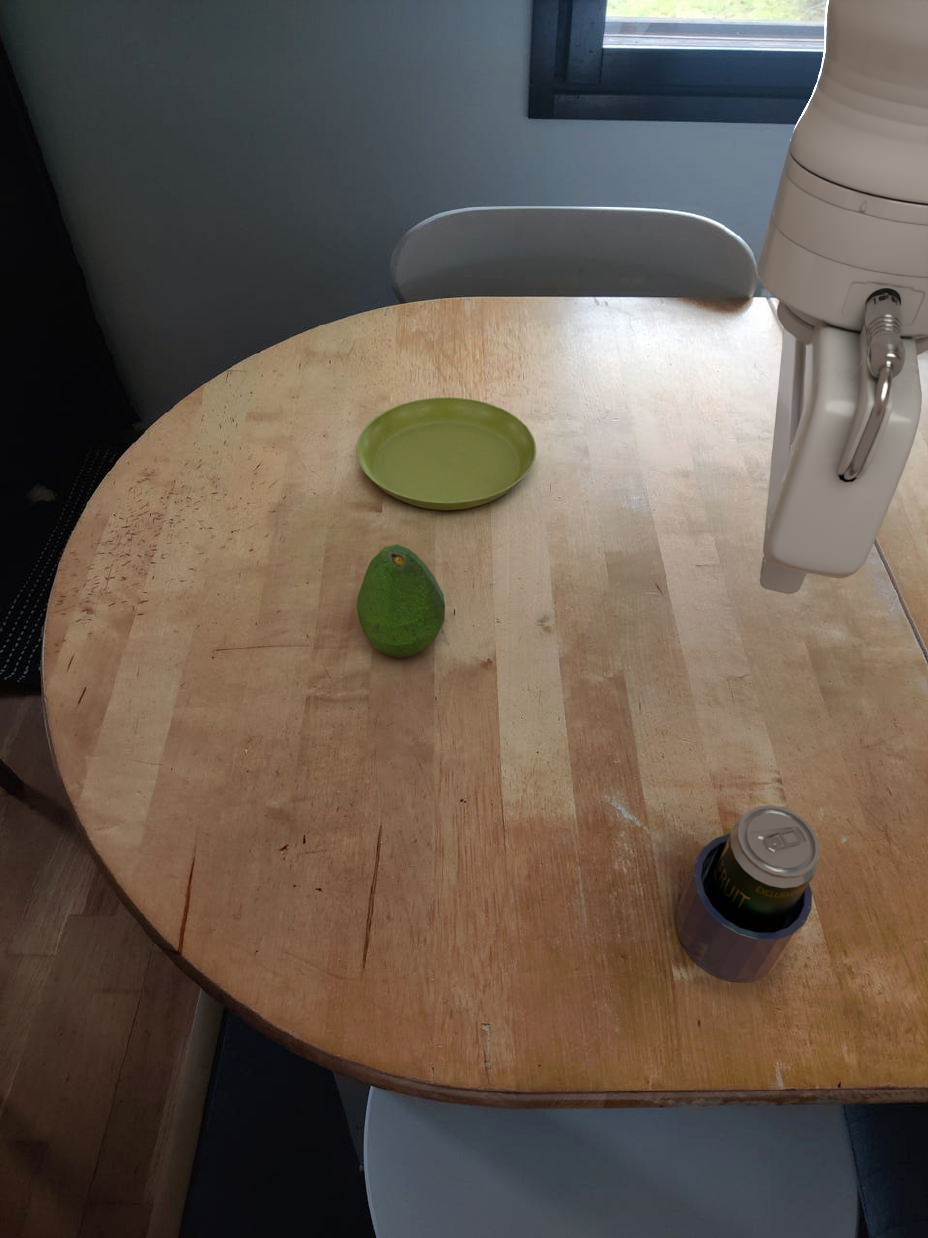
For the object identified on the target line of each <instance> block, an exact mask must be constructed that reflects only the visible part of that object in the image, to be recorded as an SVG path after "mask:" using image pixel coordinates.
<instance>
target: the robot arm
mask: <svg viewBox="0 0 928 1238" xmlns="http://www.w3.org/2000/svg"><path fill="white" fill-rule="evenodd" d="M822 56H823V57H822V61H821V67H820V71H819V74H818V78H817V82H816V84H815V86H814V89H813V92H812V95H811V97H810V99H809V101H808V103H807V104H806V106H805V108H804V110H803V112H802V113H801V116H800V117H799V119H798V121H797V123H796V124H795V127H794V129H793V132H792V134H791V137H790V140H789V144H788V148H787V151H786V155H785V160H784V163H783V167H782V170H781V175H780V178H779V181H778V185H777V189H776V193H775V197H774V201H773V205H772V208H771V212H770V215H769V219H768V223H767V226H766V230H765V235H764V239H763V242H762V245H761V249H760V253H759V257H758V259H757V265H756V267H757V268H756V272H757V275H758V279H759V281H760V282H761V284H762V286H763V287H764V288H765V289H766V291H768V293H769V294H770V295H771V296H772V297H774V298H775V299H777V300H778V304H777V308H776V316H777V320H778V321H779V322H780V324H781V325H782V339H781V353H780V354H781V355H780V366H779V374H778V375H779V376H778V385H777V386H778V387H777V397H776V407H775V417H774V418H775V419H774V429H773V439H772V449H771V458H770V459H771V460H770V471H769V481H768V492H767V501H766V502H767V503H766V514H765V525H764V533H763V534H764V535H763V544H762V555H763V557H762V559H761V566H760V574H759V575H760V576H759V583H760V586H761V587H762V588H763V589H765V590H768V591H772V592H778V593H782V594H787V595H792V594H795V593H798V591H799V590H801V587H802V585H803V583H804V581H805V578H806V576H807V574H810V575H814V576H815V575H816V576H821V577H827V578H832V579H847V578H849V577H851V576H853V575H854V574H856V573H857V572H859V570H860V569H861V568H862V567H863V566H864V565H865V563H866V561H867V560H868V557H869V555H870V553H871V551H872V548H873V546H874V544H875V541H876V539H877V536H878V534H879V532H880V529H881V527H882V525H883V522H884V520H885V518H886V516H887V512H888V510H889V508H890V505H891V502H892V500H893V498H894V496H895V494H896V490H897V488H898V485H899V483H900V480H901V478H902V476H903V474H904V471H905V468H906V465H907V462H908V460H909V457H910V453H911V451H912V448H913V446H914V442H915V438H916V435H917V431H918V428H919V424H920V418H921V414H922V403H923V393H922V384H921V375H920V369H919V360H918V356H920V355H921V354H923V353H925V352H927V351H928V0H827V2H826V7H825V21H824V47H823V55H822Z"/></svg>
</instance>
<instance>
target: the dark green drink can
mask: <svg viewBox="0 0 928 1238" xmlns="http://www.w3.org/2000/svg"><path fill="white" fill-rule="evenodd" d="M730 833H731V834H730ZM730 833H729V834H730V836H729V838H728V841H727V843H726V845H725V848H724V850H723V852H722V854H721V857H720V859H719V861H718V864H717V866H716V868H715V870H714V873H713V875H712V877H711V880H710V882H709V884H708V886H707V889H706V891H705V894H706V895H707V897H708V899H709V901H710V903H711V904H712V906H713V907H714V908H715V909H716V910H717V911H718V912H719V913H720V914H721V915H722V916H723V917H724V918H725V919H726V920H728V921H730V922H731V923H733V924H735V925H736V926H738V927H740V928H743V929H746V930H750V931H753V932H757V933H767V932H776V931H779V930H781V928H782V926H783V925H784V923H785V921H786V920H787V918H788V917H789V915H790V913H791V912H792V910H793V908H794V907H795V905H796V904H797V902H798V900H799V899H800V897H801V895H802V894H803V892H804V891H805V889H806V887H807V886H808V884H810V882H811V881H812V880H813V878H814V876H815V874H816V873H817V869H818V866H819V863H820V861H819V857H820V853H821V851H820V850H821V849H820V841H819V839H818V837H817V834H816V832H815V830H814V828H813V827H812V826H811V825H810V824H809V823H808V821H807V820H806V819H805V818H803V817H802V816H801V815H799V814H798V813H796V812H795V811H792V810H791V809H788V808H787V807H783V806H779V805H778V806H777V805H773V804H772V805H771V804H768V805H759V806H756V807H754V808H752V809H748V811H747V812H746V813H745V814H744V815H742V816H741V817H740V818H739V819H738V820H737V821H736V822H735V823H734V825H733V827H732V830H731V832H730Z"/></svg>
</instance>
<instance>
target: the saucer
mask: <svg viewBox="0 0 928 1238" xmlns="http://www.w3.org/2000/svg"><path fill="white" fill-rule="evenodd" d="M355 452H356V458H357V459H356V460H357V461H358V465H359V466H360V468H361V470H362V471H363V472H364V473H365V475H366V477H368V478H369V479H370V481H371V482H372V483H373V484H375V485H376V486H377V487H378V488H379V489H380V490H382V491H384V492H385V493H387V494H388V495H389V496H391V497H393V498H395V499H397V500H399V501H401V502H403V503H407V504H409V505H412V506H415V507H419V508H423V509H428V510H429V509H430V510H436V511H437V510H438V511H456V510H458V511H459V510H464V509H465V510H466V509H470V508H476V507H478V506H482V505H485V504H487V503H491V502H492V501H495V500H496V499H499V498H500V497H502V496H504V495H505V494H507V493H509V492H510V491H511V490H512V489H514V488H515V487H517V486H518V484H519V483H520V482H521V481H522V480H523V479H524V478H525V477H526V476H527V475H528V473H530V471H531V469H532V467H533V466H534V463H535V460H536V458H537V445H536V441H535V437H534V435H533V434H532V432H531V430H530V428H529V427H528V426H527V425H526V424H525V423H524V422H523V421H522V420H521V419H519V418H518V417H517V416H516V415H514V414H513V413H511V412H510V411H508V410H506V409H504V408H501V407H499V406H496V405H494V404H490V403H488V402H484V401H482V400H481V401H480V400H476V399H471V398H464V397H450V396H449V397H447V396H446V397H443V396H442V397H441V396H440V397H430V398H421V399H416V400H412V401H407V402H404V403H401V404H398V405H396V406H393V407H391V408H389V409H387V410H385V411H383V412H381V413H380V414H379V415H377V416H376V417H374V418H373V419H371V421H370V422H369V423H367V424H366V425H365V427H364V428H363V429H362V431H361V432H360V434H359V435H358V439H357V442H356V447H355Z"/></svg>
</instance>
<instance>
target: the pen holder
mask: <svg viewBox="0 0 928 1238" xmlns="http://www.w3.org/2000/svg"><path fill="white" fill-rule="evenodd" d="M730 834H731V832H730V833H728V834H727V833H726V834H724V835H720V836H718V837H715V838H713V839H712V840H711V841H709V842H708V843H707V844H706V845H704V846H703V847H702V849H701V850H700V851H699V854H698V856H697V857H696V859H695V862H694V864H693V866H692V869H691V872H690V874H689V876H688V879H687V882H686V884H685V887H684V889H683V891H682V894H681V896H680V898H679V899H680V900H679V902H678V906H677V910H676V913H675V926H676V932H677V937H678V939H679V941H680V943H681V946H682V948H683V950H684V951H685V953H686V954H687V955H688V957H689V958H690V959H691V960H692V961H693V962H694V963H695V964H696V966H698V968H701V969H702V970H703V971H704V972H706V973H708V974H709V975H711V976H713V977H715V978H718V979H720V980H723V981H726V982H731V983H732V982H733V983H749V982H754V981H758V980H760V979H762V978H765V977H766V976H768V975H769V974H770V973H772V971H773V970H775V968H776V967H777V966H778V965H779V964H780V962H781V961H782V959H783V957H784V956H785V955H786V953H787V952H788V950H789V948H790V947H791V945H792V944H793V942H794V941H795V939H796V938H797V936H798V935H799V933H800V931H801V930H802V928H803V927H804V926H805V924H806V923H807V920H808V917H809V916H810V913H811V911H812V908H813V891H812V887H811V885H810V883H809V884H808V886H807V887H806V889H805V891H804V892H803V894H802V895H801V897H800V899H799V900H798V902H797V904H796V905H795V907H794V908H793V910H792V912H791V913H790V915H789V917H788V918H787V920H786V921H785V923H784V925H783V926H782V928H781V930H779V931H776V932H767V933H757V932H753V931H750V930H746V929H743V928H740V927H738V926H736V925H735V924H733V923H731V922H730V921H728V920H726V919H725V918H724V917H723V916H722V915H721V914H720V913H719V912H718V911H717V910H716V909H715V908H714V907H713V906H712V904H711V903H710V901H709V899H708V897H707V895H706V894H705V891H706V889H707V886H708V884H709V882H710V880H711V877H712V875H713V873H714V870H715V868H716V866H717V864H718V861H719V859H720V857H721V854H722V852H723V850H724V848H725V845H726V843H727V841H728V838H729V836H730Z"/></svg>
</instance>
